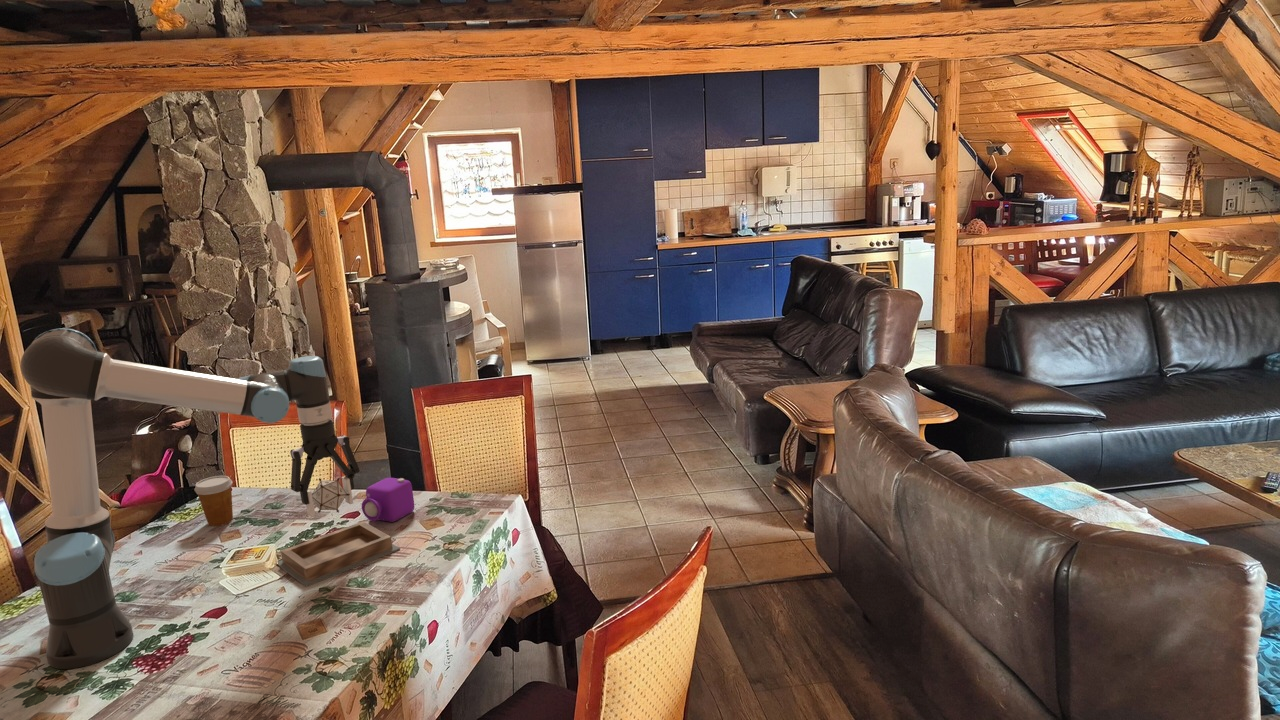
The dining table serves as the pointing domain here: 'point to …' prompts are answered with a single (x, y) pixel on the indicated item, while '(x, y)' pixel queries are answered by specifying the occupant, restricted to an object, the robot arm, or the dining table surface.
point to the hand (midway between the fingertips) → (330, 508)
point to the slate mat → (307, 583)
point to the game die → (329, 495)
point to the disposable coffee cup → (216, 499)
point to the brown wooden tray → (336, 550)
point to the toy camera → (388, 500)
